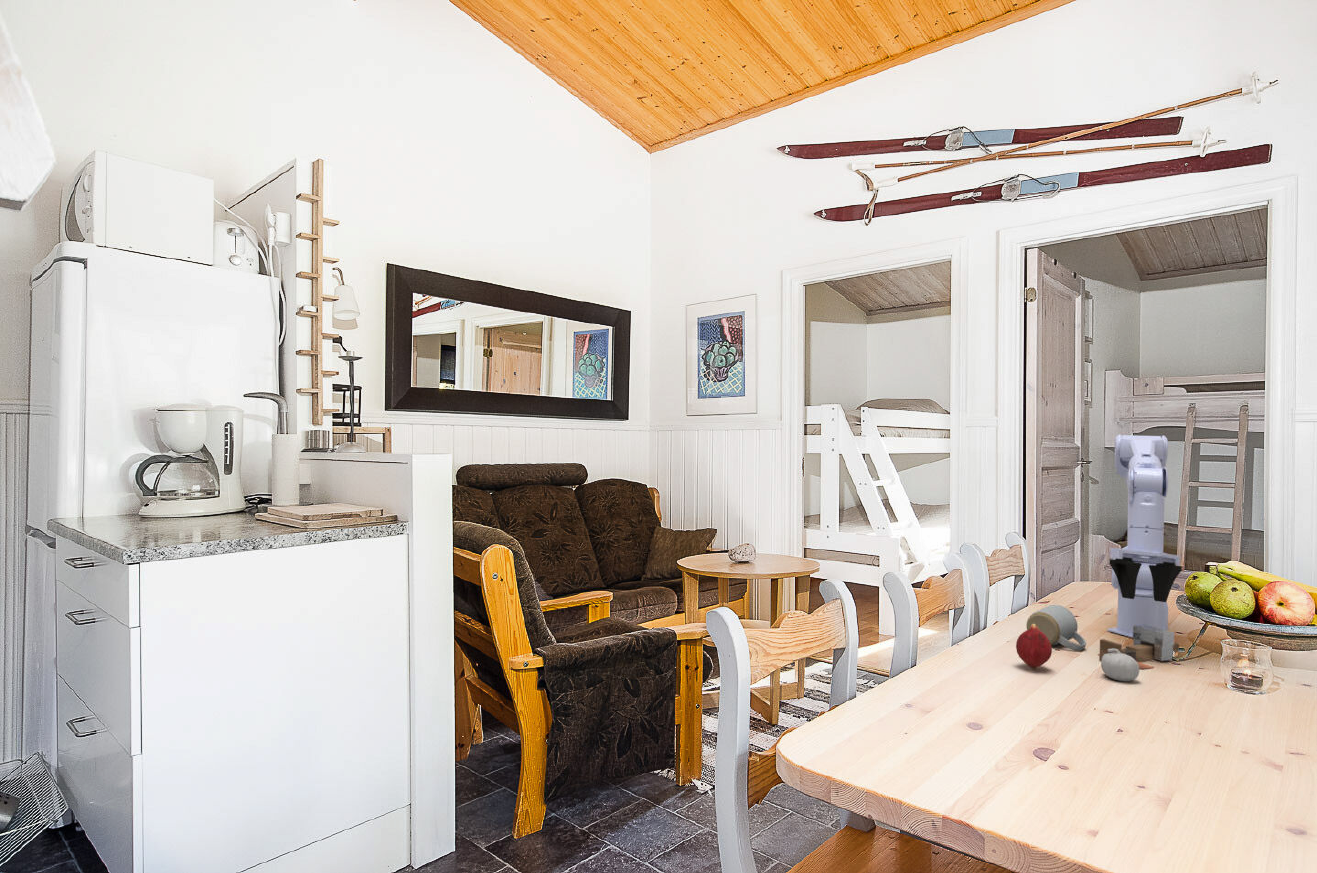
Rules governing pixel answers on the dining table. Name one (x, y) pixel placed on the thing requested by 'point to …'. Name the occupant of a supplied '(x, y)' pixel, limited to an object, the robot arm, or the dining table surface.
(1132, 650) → the rail
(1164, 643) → the gray arch block
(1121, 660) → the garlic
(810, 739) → the dining table surface
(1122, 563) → the robot arm
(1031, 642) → the onion
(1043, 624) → the ceramic mug
